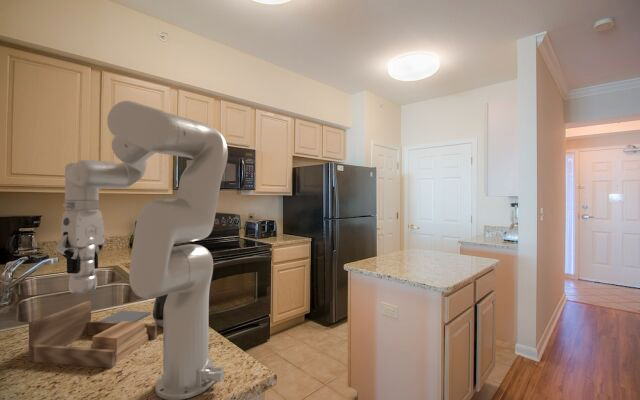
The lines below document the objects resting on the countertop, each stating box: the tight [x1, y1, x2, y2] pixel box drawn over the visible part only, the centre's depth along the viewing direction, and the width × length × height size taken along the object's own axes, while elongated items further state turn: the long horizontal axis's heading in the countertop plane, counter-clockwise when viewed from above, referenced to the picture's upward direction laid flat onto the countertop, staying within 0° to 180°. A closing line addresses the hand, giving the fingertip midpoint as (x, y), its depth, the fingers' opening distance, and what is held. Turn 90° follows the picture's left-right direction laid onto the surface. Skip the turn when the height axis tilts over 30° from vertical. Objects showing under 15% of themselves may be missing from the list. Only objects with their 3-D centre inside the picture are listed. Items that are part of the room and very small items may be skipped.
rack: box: [28, 300, 158, 369], centre depth 86 cm, size 24×17×10 cm
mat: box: [99, 310, 152, 322], centre depth 107 cm, size 12×12×1 cm
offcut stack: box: [90, 321, 149, 363], centre depth 86 cm, size 8×12×6 cm, turn 172°
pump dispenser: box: [152, 294, 168, 328], centre depth 103 cm, size 10×10×15 cm
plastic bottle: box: [68, 237, 98, 295], centre depth 87 cm, size 6×7×20 cm
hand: (83, 270), depth 87 cm, fingers closed on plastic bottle, 5 cm apart
